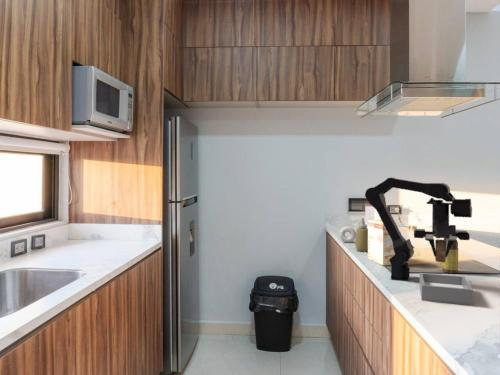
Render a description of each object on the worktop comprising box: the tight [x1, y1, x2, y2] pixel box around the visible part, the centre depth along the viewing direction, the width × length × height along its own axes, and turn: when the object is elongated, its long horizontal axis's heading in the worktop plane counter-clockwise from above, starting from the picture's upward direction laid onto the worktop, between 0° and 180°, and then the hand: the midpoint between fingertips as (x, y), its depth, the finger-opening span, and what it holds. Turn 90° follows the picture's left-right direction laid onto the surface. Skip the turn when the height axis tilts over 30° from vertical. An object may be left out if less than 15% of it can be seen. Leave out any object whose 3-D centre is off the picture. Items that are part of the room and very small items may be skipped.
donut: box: [338, 226, 356, 244], centre depth 235 cm, size 10×4×10 cm, turn 75°
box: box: [418, 272, 474, 306], centre depth 134 cm, size 15×17×5 cm
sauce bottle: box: [441, 238, 459, 274], centre depth 164 cm, size 6×6×20 cm
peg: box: [434, 239, 446, 263], centre depth 147 cm, size 4×4×8 cm
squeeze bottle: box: [354, 217, 368, 253], centre depth 210 cm, size 8×8×18 cm
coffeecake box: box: [367, 219, 395, 266], centre depth 184 cm, size 15×7×20 cm, turn 9°
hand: (440, 256), depth 147 cm, fingers closed on peg, 3 cm apart
